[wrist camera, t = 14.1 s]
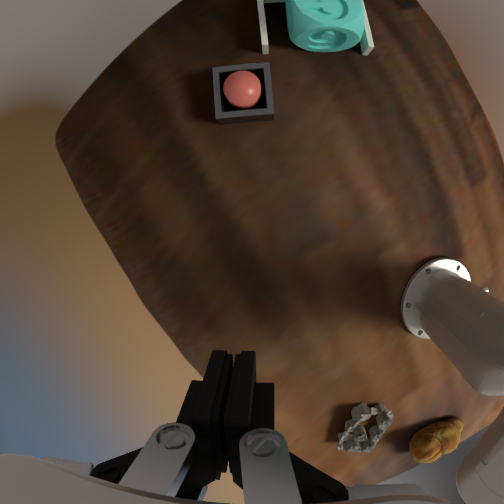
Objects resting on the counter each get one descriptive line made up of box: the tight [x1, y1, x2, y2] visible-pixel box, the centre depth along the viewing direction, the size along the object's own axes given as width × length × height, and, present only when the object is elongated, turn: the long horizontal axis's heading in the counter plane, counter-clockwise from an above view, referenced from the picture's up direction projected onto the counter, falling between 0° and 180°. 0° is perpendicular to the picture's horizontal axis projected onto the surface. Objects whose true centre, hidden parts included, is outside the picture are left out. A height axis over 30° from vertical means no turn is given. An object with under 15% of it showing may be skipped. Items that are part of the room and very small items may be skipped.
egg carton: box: [337, 402, 393, 453], centre depth 43 cm, size 11×8×4 cm
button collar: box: [212, 62, 274, 125], centre depth 32 cm, size 6×6×4 cm
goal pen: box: [257, 0, 374, 55], centre depth 29 cm, size 14×9×3 cm
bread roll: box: [409, 417, 463, 463], centre depth 42 cm, size 13×10×8 cm
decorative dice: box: [286, 0, 364, 52], centre depth 27 cm, size 8×8×8 cm
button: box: [223, 71, 261, 110], centre depth 31 cm, size 4×4×4 cm
